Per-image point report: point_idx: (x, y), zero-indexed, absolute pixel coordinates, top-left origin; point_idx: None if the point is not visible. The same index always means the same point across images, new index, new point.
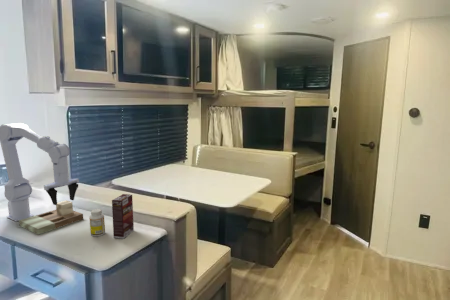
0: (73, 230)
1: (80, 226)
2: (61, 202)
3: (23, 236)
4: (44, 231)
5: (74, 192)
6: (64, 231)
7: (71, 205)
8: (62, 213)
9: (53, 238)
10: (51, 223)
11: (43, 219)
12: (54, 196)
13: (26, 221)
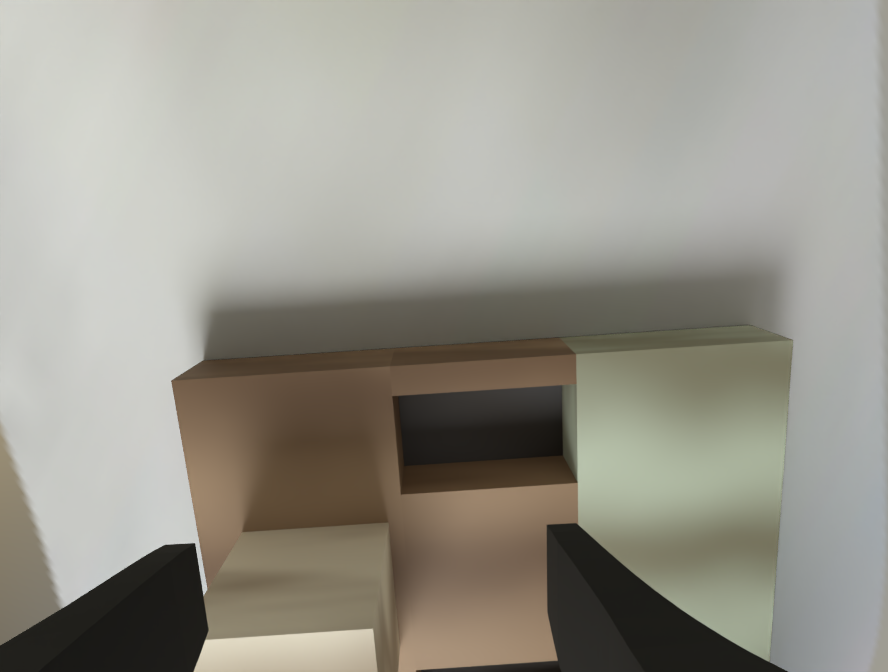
0: (453, 106)
1: (336, 158)
2: None
3: (854, 398)
4: (684, 332)
5: (13, 656)
6: (534, 169)
7: (217, 602)
8: (385, 539)
9: (714, 69)
10: (605, 375)
11: None
12: (702, 640)
13: None
